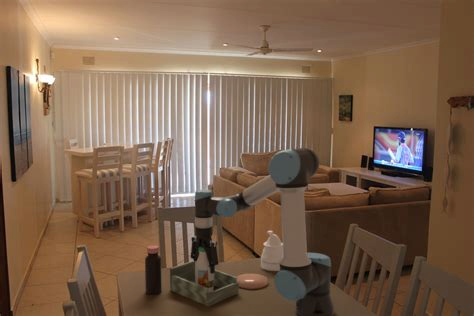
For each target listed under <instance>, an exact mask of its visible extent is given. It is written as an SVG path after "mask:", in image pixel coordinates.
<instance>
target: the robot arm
mask: <svg viewBox="0 0 474 316" xmlns="http://www.w3.org/2000/svg"><path fill="white" fill-rule="evenodd" d="M268 163H269V164H268V173H269V175H267V176H265V177H263V178H262V179H260V180H258V181H257V182H255V183H254V184H251V185H250V186H248V187H247V188H245V189H243V190H241V191H240V192H239V193H237V194H231V195H228V196H222V197H219V196H214V195H213V191H212V190H210V189H198V190H196V191H195V193H194V200H193V201H194V226H195V228H194V232H195V236H192V237H191V246H190V247H191V248H190V259H191V260H192V261H194V268H196V262H197V259H198V257H199V246H200V247H203V248H204V250H205V251H206V254H207V258H208V262H209V266H208V281H211V280H214V273H215V270H216V267H215V266H217V265H219V256H218V255H219V254H218V248H217V247H218V242H217V241H214V240H213V239H212V236H213V235H214V229H213V228H214V227H213V223H214V222H213V215H214V216H217V217H218V216H219V217H223V218H233V217H234V216H235V214H237V213H238V212H242V211H248V210H249V209H252V208H253V207H254V205H256V204H258V203H259V202H261V201H263V200H265V199H266V198H269V197H270V196H272V195H274V194H275V193H277V192H280V196H279V197H280V213H281V215H280V217H281V234H282V235H281V236H282V237H281V238H282V243H283V258H282V259H281V260H280V262H279V263H280V271H277V273H276V274H275V276H274V282H273V283H274V287H275V289H276V291H277V293H278V294H279V295H280V296H281V297H282V298H283V299H284V300H286V301H289V302H295V305H294V312H295V314H296V315H297V316H335V306H334V303H333V300H332V299H333V298H332V296H331V275H332V273H331V272H332V263H331V262H332V260H331V258H330V257H329V256H328V255H326V254H323V253H319V252H307V251H308V246H307V244H308V243H307V227H306V204H305V203H306V202H305V190H307V188H309V179H310V178H313V177H314V176H315V175H316V174H317V173H318V171H319V169H320V158H319V156H318V154H317V153H316V152H315V151H314V150H312V149H310V148H307V147H301V148H300V147H299V148H292V149H289V148H288V149H284V150H279V151H277V152H276V153H275V154H274V155H273V156H272V157H271V158H270V161H269V162H268ZM208 247H209V248H208Z"/></svg>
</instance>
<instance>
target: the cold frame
mask: <svg viewBox="0 0 474 316" xmlns="http://www.w3.org/2000/svg"><path fill="white" fill-rule="evenodd" d="M169 278H170V279H169V280H170V281H169V283H170V284H169V285H170V286H169V288H170V289H169V290H170V291H171V292H174V293H176V294H179V295H181V296H183V297H186V298H187V299H190V300H192V301H194V302H196V303H200V304H202V305H203V306H207V307H211V306H213V305H215V304H218V303H219V302H222V301H224V300H226V299H229V298H231V297H233V296H235V295H238V294H239V292H240V291H239V288H240V287H239V282H237V276H235V275H232V274H229V273H226V272H223V271H221V270H217V269H215V273H214V280H213V287H214V286H215V287H218V288H217V289H215V290H213V291H212V292H210V293H208V288H206V287H204V286H201V285H198V284H196V283H195V268H194V260H191V261H188V262H185V263H182V264H178V265H175V266H173V267H170V268H169Z"/></svg>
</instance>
